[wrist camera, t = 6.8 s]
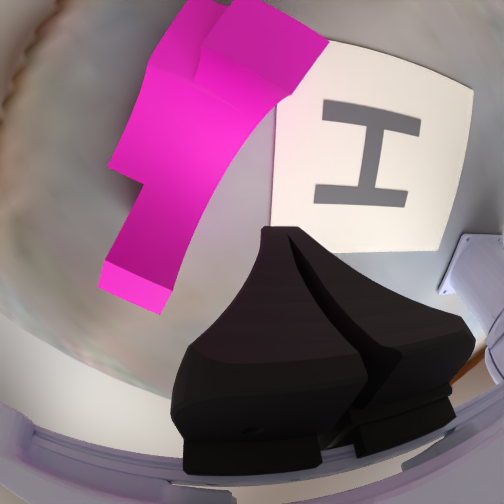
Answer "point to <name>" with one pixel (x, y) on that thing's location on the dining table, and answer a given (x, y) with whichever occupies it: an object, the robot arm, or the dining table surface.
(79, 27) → the dining table surface
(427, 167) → the letter board
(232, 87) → the toy block
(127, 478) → the robot arm
